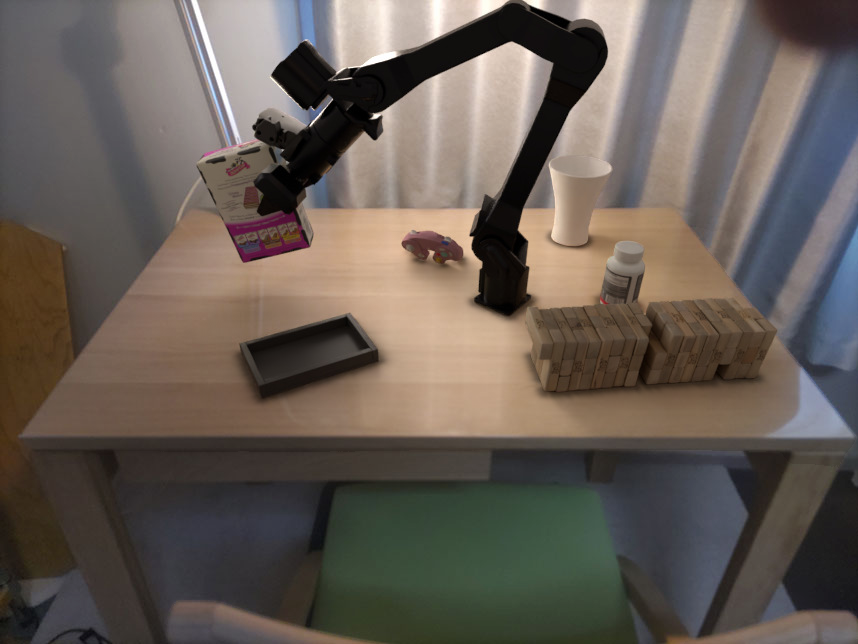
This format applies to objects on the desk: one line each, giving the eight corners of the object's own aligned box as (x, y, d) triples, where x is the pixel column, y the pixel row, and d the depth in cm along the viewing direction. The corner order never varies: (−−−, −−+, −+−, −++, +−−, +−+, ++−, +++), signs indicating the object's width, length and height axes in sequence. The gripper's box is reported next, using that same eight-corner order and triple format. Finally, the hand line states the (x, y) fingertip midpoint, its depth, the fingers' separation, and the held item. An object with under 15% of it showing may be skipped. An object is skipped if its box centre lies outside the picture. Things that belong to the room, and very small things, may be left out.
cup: (530, 242, 107) (538, 169, 99) (553, 220, 114) (562, 150, 107) (587, 257, 102) (600, 182, 95) (607, 234, 110) (621, 162, 102)
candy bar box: (315, 233, 95) (277, 132, 86) (311, 248, 91) (271, 144, 82) (248, 248, 96) (203, 150, 87) (241, 264, 92) (193, 163, 83)
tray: (351, 323, 86) (350, 312, 85) (378, 361, 79) (378, 349, 78) (241, 355, 80) (239, 343, 79) (261, 398, 73) (258, 386, 72)
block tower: (724, 347, 83) (518, 355, 80) (744, 296, 79) (526, 301, 75) (755, 384, 77) (532, 394, 74) (779, 331, 72) (542, 338, 69)
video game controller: (403, 264, 103) (395, 239, 97) (413, 243, 105) (405, 217, 99) (458, 275, 100) (452, 250, 94) (466, 254, 102) (461, 228, 96)
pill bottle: (621, 292, 93) (634, 235, 88) (643, 310, 89) (658, 252, 84) (591, 298, 92) (603, 241, 86) (612, 317, 88) (625, 258, 82)
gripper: (309, 73, 87) (251, 145, 95) (255, 109, 72) (191, 191, 80) (366, 131, 90) (305, 195, 98) (326, 177, 75) (257, 248, 83)
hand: (267, 205), depth 90 cm, fingers closed on candy bar box, 5 cm apart
